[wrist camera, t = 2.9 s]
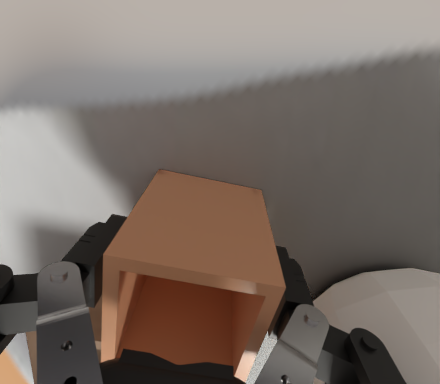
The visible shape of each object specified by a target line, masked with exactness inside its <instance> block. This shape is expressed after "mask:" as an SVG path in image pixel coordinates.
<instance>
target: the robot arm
mask: <svg viewBox="0 0 440 384" xmlns="http://www.w3.org/2000/svg"><path fill="white" fill-rule="evenodd" d="M126 219H127V217H125V216H120V215H115V214H112V215H111V216H110V218H109V219H108V220H107V221H106V223H102V222H98V223H96V224H94V225H93V226H91V227H89V229H88V230H87V231H86V232H85V233H84V235H83V236H82V237H81V238H80V239H79V241H78V242H77V243H76V244H75V245H74V246H73V248H72V249H71V250H70V251H69V252H68V254H67V255H66V256H65V257H64V258H63V259H62V261H61V262H56V263H52V264H50V265H48V266H46V267H44V268H43V269H42V270H41V271H40V272H39V273H36V274H23V275H13V272H12V269H11V268H10V267H8V266H6V265H1V264H0V354H1V353H2V351H3V350H4V349H5V348H6V346H7V345H8V344H9V343H10V342H11V340H12V339H13V338H14V337H15V335H16V334H17V333H24V332H31V331H36V343H37V384H246V383H245V382H243V381H242V380H240V379H239V378H237V377H235V376H234V368H233V366H230V365H224V364H217V363H211V362H201V363H192V364H184V365H177V364H174V363H172V362H170V361H168V360H165V359H163V358H161V357H159V356H157V355H154V354H152V353H148V352H142V351H136V350H129V349H123V351H122V353H121V356H120V358H115V359H111V360H107V361H104V362H101V363H99V360H98V355H97V349H96V344H95V339H94V334H93V328H92V323H91V318H90V313H89V308H88V307H92V308H95V306H96V304H97V302H98V301H99V299H100V297H101V295H102V286H103V254H104V252H105V251H106V249H107V248H108V246H109V245H110V243H111V242H112V240H113V239H114V237H115V236H116V234H117V233H118V231H119V230H120V228H121V226H122V225H123V223H124V222H125V220H126ZM276 250H277V254H278V258H279V262H280V266H281V270H282V274H283V278H284V282H285V286H286V289H285V291H284V294H283V296H282V298H281V301H280V303H279V305H278V308H277V310H276V312H275V314H274V317H273V319H272V321H271V324H270V326H269V328H268V335H269V338H272V339H277V340H278V341H277V343H276V345H275V346H274V348H273V350H272V352H271V354H270V356H269V358H268V359H267V361H266V363H265V365H264V367H263V369H262V370H261V372H260V374H259V376H258V378H257V380H256V381H255V383H254V384H313V382H314V379H315V378H317V379H319V380H321V381H323V382H325V384H406V382H405V380H404V379H403V377H402V375H401V373H400V372H399V370H398V368H397V366H396V365H395V363H394V361H393V359H392V357H391V356H390V354H389V352H388V350H387V349H386V347H385V345H384V344H383V342H382V341H381V340H380V339H379V338H378V337H377V336H376V335H374V334H373V333H371V332H370V331H368V330H366V329H363V328H354V329H352V330H351V332H350V334H349V333H346V332H344V331H342V330H340V329H338V328H335V327H333V326H331V325H330V324H329V322H328V320H327V318H326V316H325V315H324V314H323V313H322V312H321V311H320V310H319V309H317V308H316V307H315V306H314V304H313V301H312V298H311V295H310V292H309V289H308V287H307V284H306V281H305V278H304V277H303V272H302V269H301V267H300V266H299V264H298V263H297V262H296V261H295V260H294V259H290V258H289V256H288V253H287V249H286V248H285V247H280V246H276Z"/></svg>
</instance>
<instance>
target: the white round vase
mask: <svg viewBox="0 0 440 384" xmlns="http://www.w3.org/2000/svg"><path fill="white" fill-rule="evenodd" d="M313 304H314V306H315V307H316V308H317V309H319V310H320V311H321V312H322V313H323V314H324V315H325V316H326V318H327V320H328V322H329V324H330V325H331V326H333V327H335V328H338V329H340V330H342V331H344V332H346V333H349V334H350V332H351V330H352V329H354V328H363V329H366V330H368V331H370V332H371V333H373V334H374V335H376V336H377V337H378V338H379V339H380V340H381V341H382V342H383V344H384V345H385V347H386V349H387V350H388V352H389V354H390V356H391V357H392V359H393V361H394V363H395V365H396V366H397V368H398V370H399V372H400V373H401V375H402V377H403V379H404V380H405V382H406V384H440V274H439V273H434V272H429V271H425V270H420V269H415V268H405V269H392V270H383V271H373V272H364V273H360V274H358V275H355V276H353V277H350V278H348V279H345V280H343V281H340V282H338V283H335V284H333V285H332V286H331V287H330V288H329V289H327V290H326V291H325V292H324V293H322V294H321V295H320V296H319V297H318V298H316V299H315V300H314V301H313ZM313 384H325V382H323V381H321V380H319V379H317V378H315V379H314V382H313Z"/></svg>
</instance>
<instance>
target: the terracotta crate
mask: <svg viewBox="0 0 440 384" xmlns="http://www.w3.org/2000/svg"><path fill="white" fill-rule="evenodd" d="M285 289H286V286H285V282H284V278H283V274H282V270H281V266H280V262H279V258H278V254H277V250H276V246H275V242H274V238H273V234H272V230H271V226H270V222H269V218H268V214H267V210H266V206H265V203H264V199H263V195H262V191H261V190H259V189H254V188H249V187H244V186H239V185H234V184H229V183H225V182H220V181H215V180H210V179H205V178H200V177H195V176H190V175H186V174H181V173H176V172H171V171H166V170H161V169H159V170H158V172H157V173H156V175H155V176H154V178H153V179H152V181H151V182H150V184H149V185H148V187H147V188H146V190H145V191H144V193H143V194H142V196H141V197H140V199H139V201H138V202H137V204H136V205H135V207H134V208H133V210H132V211H131V213H130V214H129V216H128V217H127V219H126V220H125V222H124V223H123V225H122V226H121V228H120V230H119V231H118V233H117V234H116V236H115V237H114V239H113V240H112V242H111V243H110V245H109V246H108V248H107V249H106V251H105V252H104V254H103V286H102V335H101V362H104V361H107V360H111V359H115V358H120V356H121V353H122V351H123V349H129V350H136V351H142V352H148V353H152V354H154V355H157V356H159V357H161V358H163V359H165V360H168V361H170V362H172V363H174V364H177V365H184V364H192V363H201V362H211V363H217V364H224V365H230V366H233V368H234V376H235V377H237V378H239V379H240V380H242V381H243V382H245V381H246V379H247V377H248V375H249V372H250V370H251V368H252V365H253V363H254V361H255V358H256V356H257V354H258V351H259V349H260V347H261V345H262V342H263V340H264V338H265V335H266V333H267V331H268V328H269V326H270V324H271V321H272V319H273V317H274V314H275V312H276V310H277V308H278V305H279V303H280V301H281V298H282V296H283V294H284V291H285Z"/></svg>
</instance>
